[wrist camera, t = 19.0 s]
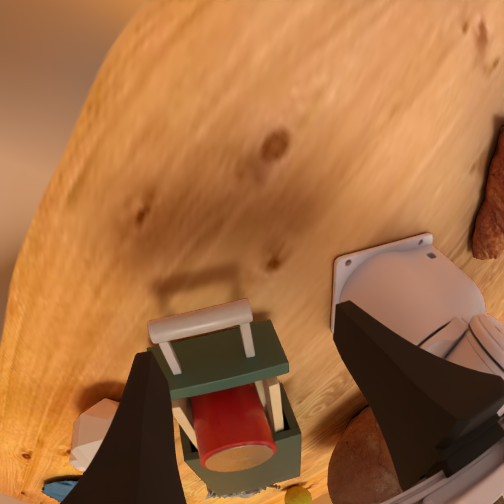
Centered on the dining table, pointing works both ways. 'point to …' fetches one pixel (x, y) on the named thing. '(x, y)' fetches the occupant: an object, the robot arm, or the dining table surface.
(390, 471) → the jug
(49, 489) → the blue ocean wave diorama
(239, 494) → the grey jagged hollow block
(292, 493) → the fruit
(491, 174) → the pastry
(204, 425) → the drink tin
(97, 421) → the chicken leg
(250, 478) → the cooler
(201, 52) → the dining table surface
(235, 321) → the green drawer
